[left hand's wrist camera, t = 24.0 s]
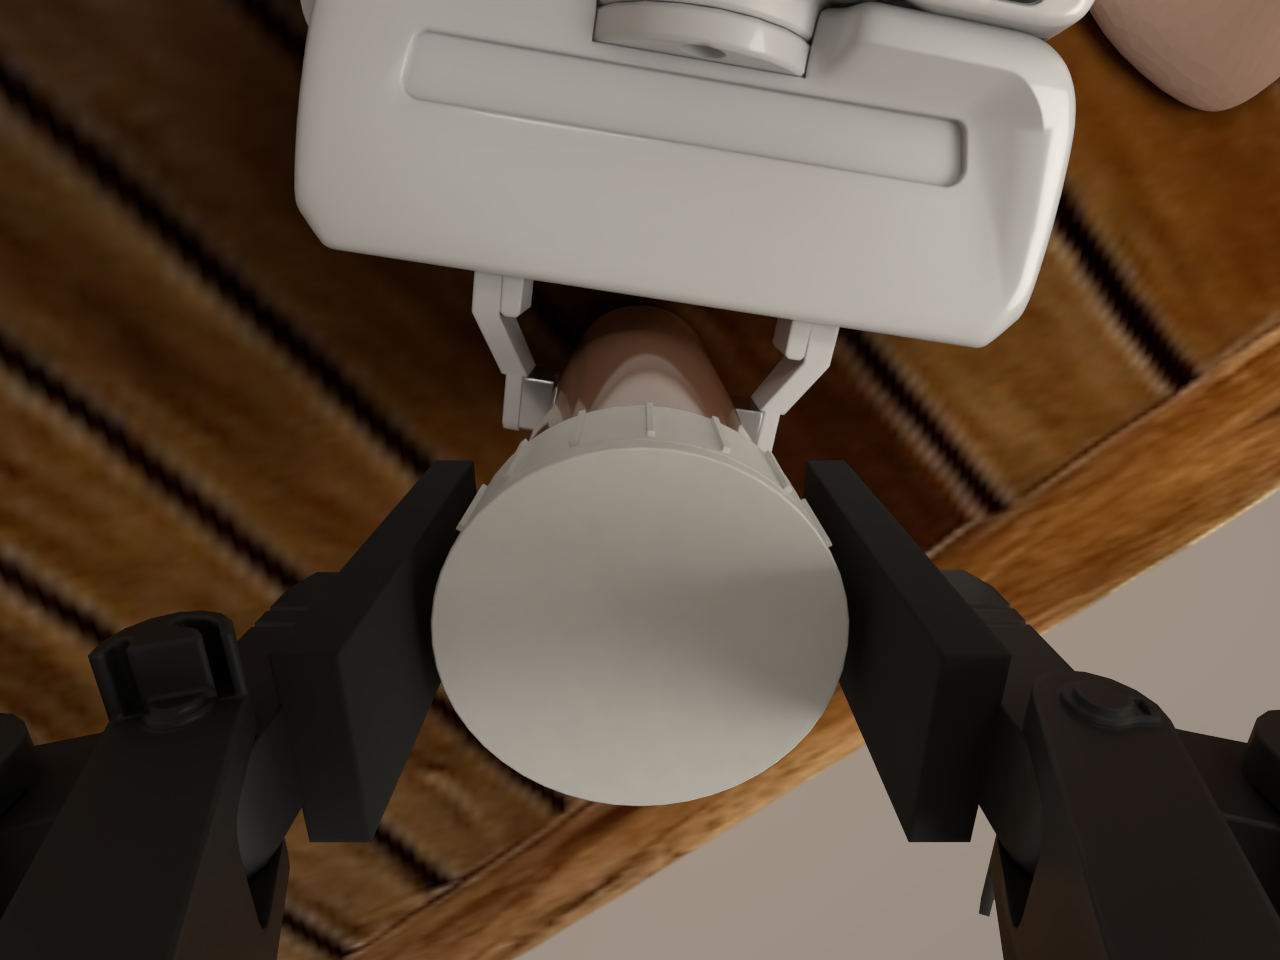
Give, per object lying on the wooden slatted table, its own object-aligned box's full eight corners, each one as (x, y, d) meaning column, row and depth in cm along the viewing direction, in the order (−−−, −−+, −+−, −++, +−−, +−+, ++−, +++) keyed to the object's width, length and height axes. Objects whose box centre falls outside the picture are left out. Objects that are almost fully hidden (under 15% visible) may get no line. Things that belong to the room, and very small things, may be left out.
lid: (676, 321, 10) (685, 345, 8) (881, 603, 12) (931, 682, 10) (388, 540, 12) (334, 609, 10) (611, 767, 13) (606, 867, 11)
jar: (545, 348, 27) (390, 551, 10) (667, 278, 26) (717, 375, 9) (614, 463, 29) (579, 798, 12) (731, 401, 28) (871, 670, 11)
